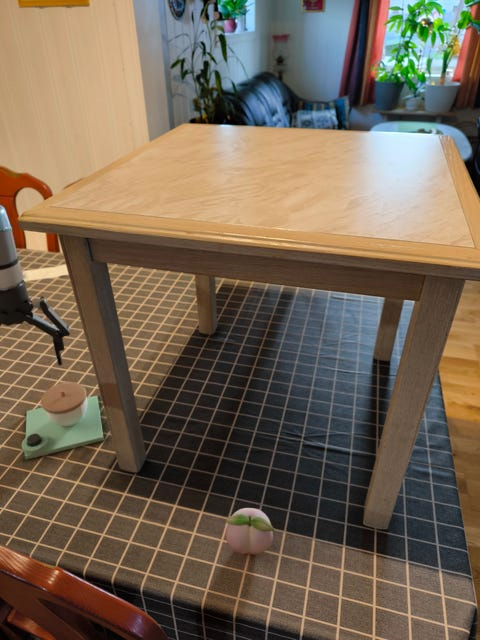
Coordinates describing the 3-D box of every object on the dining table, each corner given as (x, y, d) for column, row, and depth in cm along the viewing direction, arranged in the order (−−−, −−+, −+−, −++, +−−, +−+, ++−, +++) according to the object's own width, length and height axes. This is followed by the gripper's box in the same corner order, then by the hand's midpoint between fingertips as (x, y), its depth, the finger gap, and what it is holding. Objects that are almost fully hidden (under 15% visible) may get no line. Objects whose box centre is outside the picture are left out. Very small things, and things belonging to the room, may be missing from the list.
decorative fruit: (271, 527, 92) (274, 497, 87) (272, 566, 85) (275, 537, 80) (226, 525, 93) (226, 495, 87) (223, 564, 86) (223, 534, 80)
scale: (24, 463, 105) (21, 453, 103) (27, 416, 118) (23, 406, 116) (104, 443, 110) (102, 433, 108) (98, 400, 123) (96, 391, 121)
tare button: (28, 448, 105) (26, 443, 104) (28, 439, 107) (27, 435, 106) (41, 445, 106) (39, 440, 105) (41, 436, 108) (39, 432, 107)
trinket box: (69, 398, 121) (62, 372, 116) (99, 411, 117) (93, 384, 112) (38, 424, 113) (29, 397, 108) (70, 439, 109) (62, 411, 104)
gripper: (69, 266, 94) (84, 347, 105) (-66, 283, 86) (-34, 368, 97) (71, 282, 88) (87, 366, 99) (-74, 301, 80) (-39, 390, 91)
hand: (27, 367), depth 98 cm, fingers open, 13 cm apart
